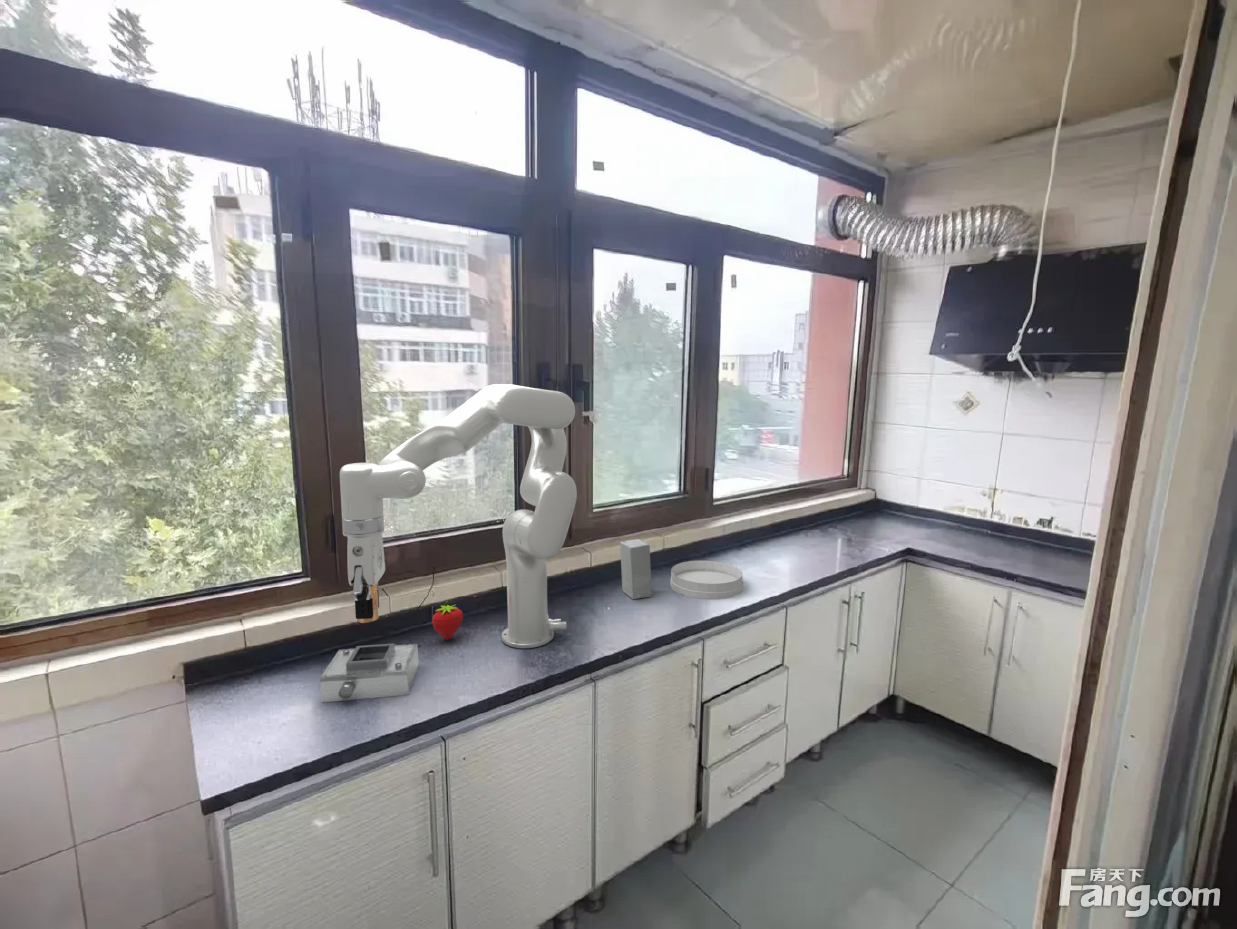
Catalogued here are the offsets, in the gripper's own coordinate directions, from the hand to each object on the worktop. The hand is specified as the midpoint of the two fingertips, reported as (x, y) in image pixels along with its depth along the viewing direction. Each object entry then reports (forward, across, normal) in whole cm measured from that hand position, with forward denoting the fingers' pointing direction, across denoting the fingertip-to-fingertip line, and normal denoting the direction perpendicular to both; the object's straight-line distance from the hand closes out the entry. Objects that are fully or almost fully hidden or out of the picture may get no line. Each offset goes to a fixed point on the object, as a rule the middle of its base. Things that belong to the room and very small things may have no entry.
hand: (367, 612), depth 114 cm
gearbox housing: (+15, 0, 0) cm, 15 cm away
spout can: (+1, 0, 0) cm, 1 cm away
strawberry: (+15, +18, -13) cm, 27 cm away
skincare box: (+15, +40, -64) cm, 77 cm away
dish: (+15, +43, -87) cm, 99 cm away
